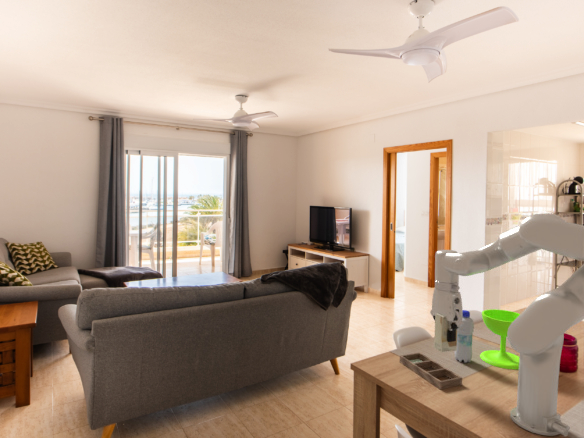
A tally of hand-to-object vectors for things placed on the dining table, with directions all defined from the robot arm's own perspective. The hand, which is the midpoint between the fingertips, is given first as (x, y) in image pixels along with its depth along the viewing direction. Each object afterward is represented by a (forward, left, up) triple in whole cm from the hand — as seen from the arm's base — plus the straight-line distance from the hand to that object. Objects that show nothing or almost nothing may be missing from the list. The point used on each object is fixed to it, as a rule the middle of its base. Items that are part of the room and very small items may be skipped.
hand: (445, 338), depth 130 cm
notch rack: (+7, 0, -16) cm, 17 cm away
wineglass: (+7, -35, -16) cm, 39 cm away
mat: (+15, 0, -16) cm, 21 cm away
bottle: (+12, -20, -16) cm, 28 cm away
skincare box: (0, 0, -4) cm, 4 cm away
